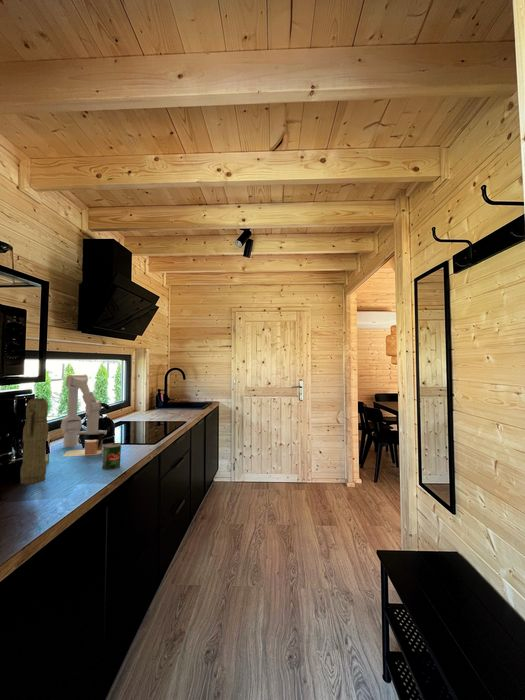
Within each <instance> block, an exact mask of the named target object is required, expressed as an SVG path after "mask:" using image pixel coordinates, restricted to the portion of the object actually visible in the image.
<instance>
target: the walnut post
mask: <svg viewBox="0 0 525 700" xmlns="http://www.w3.org/2000/svg"><path fill="white" fill-rule="evenodd" d="M97 440H98V441H99V439H97ZM103 441H104V440H103V439H102V441H101V444H100V448H98V444H97V450H102V449H103ZM102 451H103V450H102Z"/></svg>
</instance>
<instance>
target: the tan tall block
mask: <svg viewBox="0 0 525 700" xmlns="http://www.w3.org/2000/svg"><path fill="white" fill-rule="evenodd" d="M25 411H26V412H25V418H26V420H25V424H24V426H23V429H22V442H23V449H22V451H23V452H22V464H21V466H20V472H19V473H20V477H19V478H20V483H21V484H20V485H22V484H24V486H30V485H31V484H32V485H37V484H40V483H42V481H43V482H45V480H46V474H47V464H48V463H46V461H45V455H46V441H47V439H48V435H49V424H48V419H47V418H48V411H49V405H48V400H47V398H46V399H45V398H43V397H41V398H40V397H38V398H36V397H35V398H31V399H29V400H28V402H27V404H26V408H25ZM36 483H37V484H36ZM32 485H31V486H32Z"/></svg>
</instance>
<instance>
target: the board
mask: <svg viewBox="0 0 525 700" xmlns="http://www.w3.org/2000/svg"><path fill="white" fill-rule="evenodd" d="M101 453H103V448H102V450H97V452H96V454H86V455H85V449H71V450H67V451H66V452H65V453H64V454H63V455H62V457H64V458H65V457H79V456H81V457H82V456H92V455H93V456H94V455H95V456H96V455H101Z"/></svg>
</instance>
